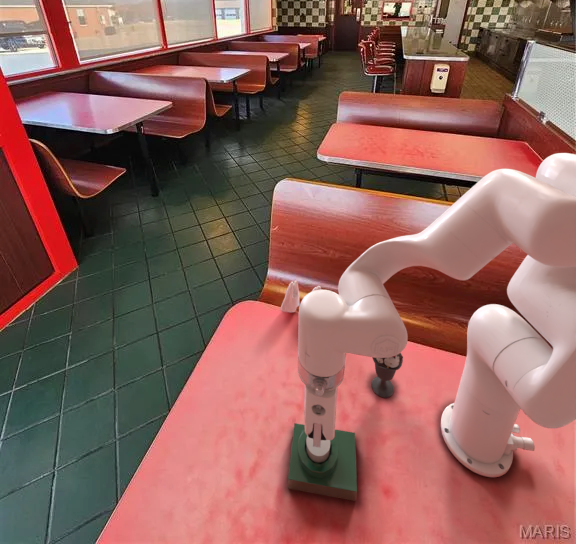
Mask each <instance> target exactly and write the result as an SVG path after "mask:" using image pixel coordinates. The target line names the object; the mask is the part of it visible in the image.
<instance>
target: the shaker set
mask: <svg viewBox="0 0 576 544" xmlns="http://www.w3.org/2000/svg"><path fill="white" fill-rule="evenodd" d="M299 290H300V289H299V282H298V280H296V279H295V280H294V281H291V282H290V283H289V284H288V286H287V288H286V291H285V294H284V298H283V300H282V303H281V306H280V307H279V310H280V312H282V313H283V312H284V313H296V312H297V309H298V308H299V306H300V303H301V302H300V291H299ZM315 290H322V286H321V285H317V286H315V287H314V288H313V289H312V290H311V292H312V291H315Z"/></svg>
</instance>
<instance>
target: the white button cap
mask: <svg viewBox="0 0 576 544" xmlns="http://www.w3.org/2000/svg"><path fill="white" fill-rule="evenodd" d="M306 451H307V454H308V456H309V458H310V459H311V460H312V461H314V462H316V463H322V462H324V461H326V460H327V458H328V457H329V454H330V440H327V439H326V440H321V445H320V448H319V447H313V438H309V437H308V436H307V439H306Z"/></svg>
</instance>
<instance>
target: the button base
mask: <svg viewBox="0 0 576 544" xmlns="http://www.w3.org/2000/svg"><path fill="white" fill-rule="evenodd" d="M306 439H307V435H306V433H305V424H304V423H297V422H296V423H295V422H294V424H293V433H292V439H291V440H292V441H291V449H290V458H289V467H288V475H287V489H288V490H294V491H300V492H305V493H311V494H315V495H321V496H326V497H331V498H336V499H337V498H338V499H341V500H342V499H343V500H348V501H353V502H356V501H357V495H358V480H357V451H356V449H357V448H356V433H355V432H352V431H346V430H340V429H335V437H334V438H333V440H330V454H329V457H328V458H327V460H326V461H324V462H322V463H316V462H314V461H312V460H311V459H310V458H309V456H308V454H307V451H306Z"/></svg>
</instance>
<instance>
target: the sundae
mask: <svg viewBox="0 0 576 544" xmlns="http://www.w3.org/2000/svg"><path fill="white" fill-rule="evenodd" d="M371 358H372V361H373V363H374V369H375V373H376V376H375V377H374V378H373V379H372V380H371V388H372V391H373V393H375V394H376V395H377V396H379V397H380V398H384V399H387V398H390V397H392V396H393V394H394V391H395V389H394V388H395V387H394V384H393V382H392V380H393V378H394V377H395V375H396V372H397V371H398V370H399V369H401V368H402V365H403V363H404V360H403V359H404V356H403V354H402V352H401V353H399V354H397V355H395V356H393V357H388V358H374V357H371Z"/></svg>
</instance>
